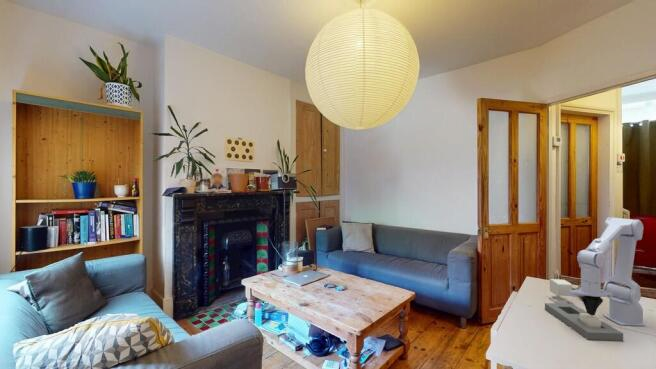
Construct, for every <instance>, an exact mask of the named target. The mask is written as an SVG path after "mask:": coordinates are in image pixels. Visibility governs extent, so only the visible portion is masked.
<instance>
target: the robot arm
mask: <svg viewBox="0 0 656 369" xmlns="http://www.w3.org/2000/svg"><path fill="white" fill-rule="evenodd" d="M604 228H605V229H604V231H603V233H602V234H601V235H600V237H599V238H595V239H593V240H592V242H591V243H590V244H589V245H588V246H587V247H586V248H585V249H582V250H580V251H578V253H577V256H576V258H577V262H578V267H579V268H580V284H581V288H580V289H576V290H569V295H571V296H570V297H573V298H575V297H579V298H580V299H581V301H582V302H583V305H584V307H585V311H586V312H587V313H588V314H590V315H594V316H595V315H596V313H597V311H598V308H599V306H600V305H601V304H602V303H603V302H604V300H603V298H602V297H605V298H608V300H609V301H608V303H609V306H608V308H609V311H608V312H609V313H608V314H605V313H604V314H603V316H604V317H606V318H607V319H609V320H611V321H613V322H614V323H616V324H618V325H620V326H639V327H640V326H644V327H645V326H646V323H645V324H644V309H643V307H642V305H641V304H640V300H641V298H642V292H641V286H640V285H639V284H638V283H637V282H636V281H634V280H633V277H632V275H633V269H634V262H635V261H634V260H635V254H636V247H637V242H638V241H641V240H643V234H644V224H643V222H642V221H641V220H640V219H632V218H620V217H613V216H608V217H607V218H606V219H605V221H604ZM616 239H618V247H617V253H616V254H617V255H616V261H615V268H614V275H612V276H609V277H606V279H605V282H604V284H603V287H601V286H602V285H601V284H602V281H601V280H602V278H601V277H602V275H601V273H602V272H601V270H602V269H601V268H602V267H603V266H604V265H605V260H606V259H607V257H606V256H607V255H608V253H609V252H610V251H611V250H612V248H613V246H612V243H613V242H614V241H615V240H616ZM601 288H602V289H601ZM600 297H601V298H600Z"/></svg>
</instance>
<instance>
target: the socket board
mask: <svg viewBox="0 0 656 369" xmlns="http://www.w3.org/2000/svg"><path fill="white" fill-rule="evenodd" d="M544 310H545V311H546V312H548V313H549V314H550V315H552V316H553V317H554V318H557V320H559V321H560V320H561V321H560V322H562V323H563V322H564V323H563V324H565V325H566V324H567V325H566V326H568V327H569V328H570V327H571V329H572V330H573V331H575V332H576V333H578V334H579V335H580V336H581V337H583V338H584V339H586V340H587V341H600V342H601V341H604V342H605V341H607V342H624V333H623V332H622V331H620V330H618V329H616V328H615V327H613V326H611V325H609V324H608V323H606V322H604V321H602V320H601V328H590V327H588V326H586V325H585V324H583V323H582V322H580V316H579V313H587V311H586V310H584V309H582V308H581V307H579V306H577V305H575V303H568V304H564V303H555V302H553V303H552V302H551V303H550V302H545V303H544Z"/></svg>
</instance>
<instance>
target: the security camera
mask: <svg viewBox="0 0 656 369" xmlns="http://www.w3.org/2000/svg"><path fill="white" fill-rule="evenodd" d="M572 287H573V285H572V283H571V282H569V281H567V280H565V279H559V278H558V279H557V278H555V279H554V278H550V279H549V291H550V292H551V293H552V294H554V295H549V296H548V299H549V300H550V301H552V302H553V303H559V304H569V302H568V299H565V298H564V297H565V296H566V297H572V296H571V295H569V290H572Z"/></svg>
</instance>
